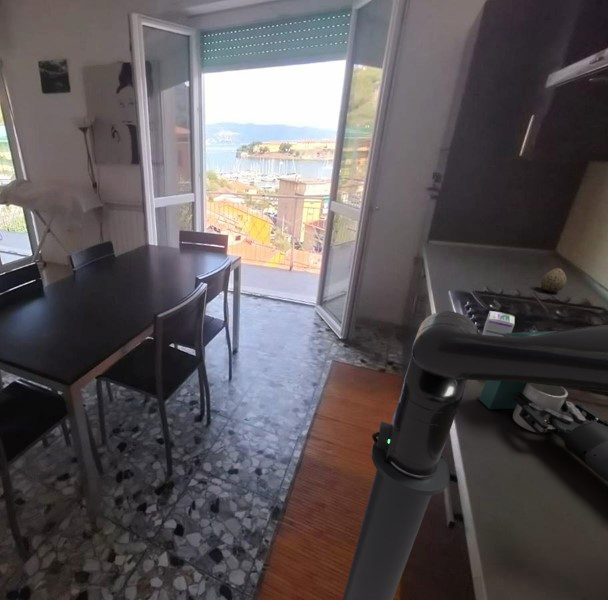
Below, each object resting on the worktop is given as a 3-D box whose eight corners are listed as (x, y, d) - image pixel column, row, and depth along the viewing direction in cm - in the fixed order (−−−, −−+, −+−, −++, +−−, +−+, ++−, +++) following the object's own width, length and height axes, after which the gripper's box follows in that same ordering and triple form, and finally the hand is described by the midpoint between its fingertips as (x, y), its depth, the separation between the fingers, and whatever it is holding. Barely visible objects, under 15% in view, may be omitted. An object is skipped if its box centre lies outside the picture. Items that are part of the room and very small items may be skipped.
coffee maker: (478, 399, 87) (504, 333, 79) (526, 397, 88) (557, 331, 80) (510, 429, 79) (543, 358, 70) (563, 427, 79) (602, 356, 71)
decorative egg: (566, 294, 140) (576, 270, 136) (551, 296, 139) (562, 272, 134) (546, 287, 146) (556, 264, 142) (532, 289, 145) (542, 266, 141)
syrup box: (498, 369, 98) (516, 324, 92) (472, 362, 101) (488, 317, 95) (498, 360, 102) (516, 315, 96) (473, 353, 105) (489, 309, 99)
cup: (515, 426, 79) (532, 391, 75) (509, 408, 84) (525, 374, 80) (552, 437, 76) (572, 400, 72) (544, 417, 81) (562, 383, 77)
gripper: (658, 438, 63) (569, 380, 78) (579, 442, 63) (505, 382, 78) (637, 468, 67) (555, 406, 82) (562, 471, 66) (494, 408, 81)
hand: (531, 394), depth 80 cm, fingers closed on cup, 6 cm apart
